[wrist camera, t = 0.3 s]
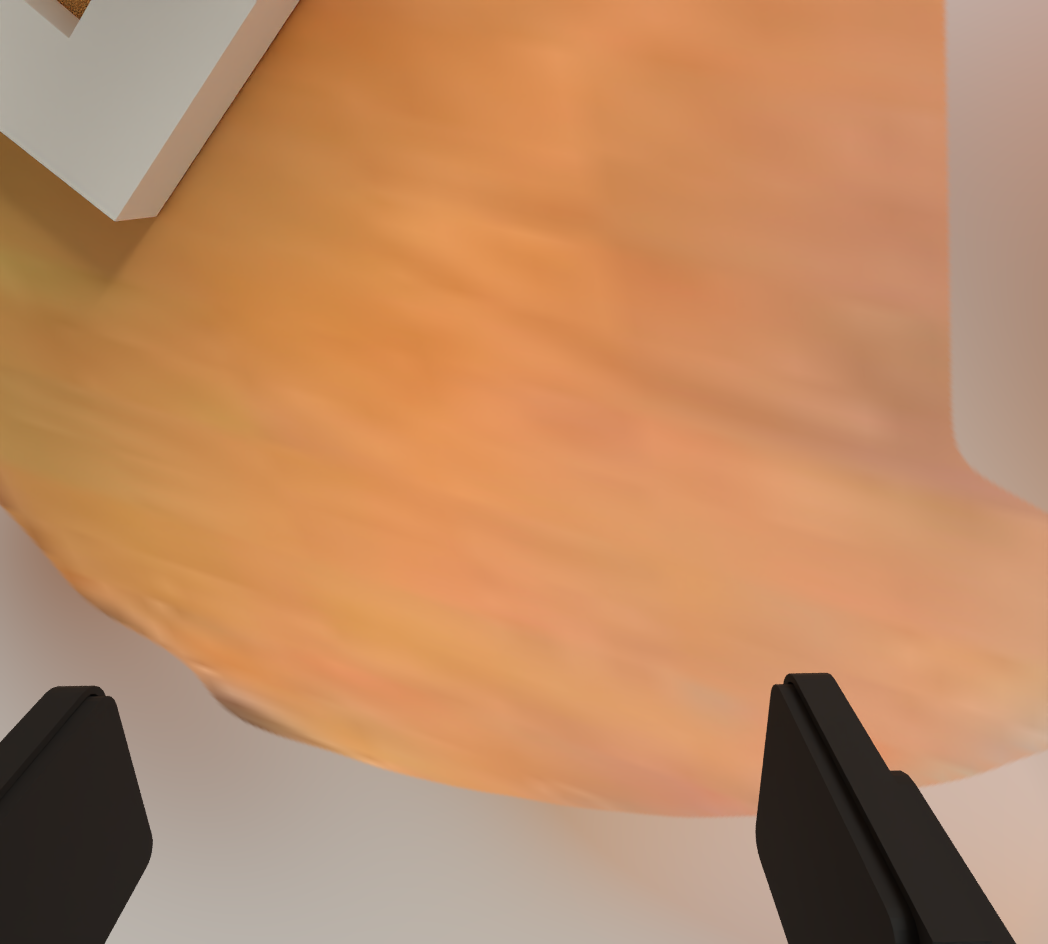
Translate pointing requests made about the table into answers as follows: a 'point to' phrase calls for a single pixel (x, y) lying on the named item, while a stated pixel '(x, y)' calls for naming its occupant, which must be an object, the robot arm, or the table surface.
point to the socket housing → (126, 88)
